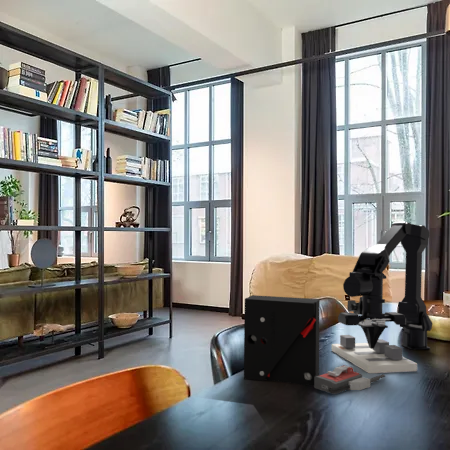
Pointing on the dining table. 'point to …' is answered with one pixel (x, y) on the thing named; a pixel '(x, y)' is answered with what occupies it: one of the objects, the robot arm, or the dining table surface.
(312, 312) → the electrical component
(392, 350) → the grey squarish block
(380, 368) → the switch board
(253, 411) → the dining table surface
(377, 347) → the grey block
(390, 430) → the dining table surface
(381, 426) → the dining table surface
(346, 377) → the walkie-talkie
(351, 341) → the grey plastic block
